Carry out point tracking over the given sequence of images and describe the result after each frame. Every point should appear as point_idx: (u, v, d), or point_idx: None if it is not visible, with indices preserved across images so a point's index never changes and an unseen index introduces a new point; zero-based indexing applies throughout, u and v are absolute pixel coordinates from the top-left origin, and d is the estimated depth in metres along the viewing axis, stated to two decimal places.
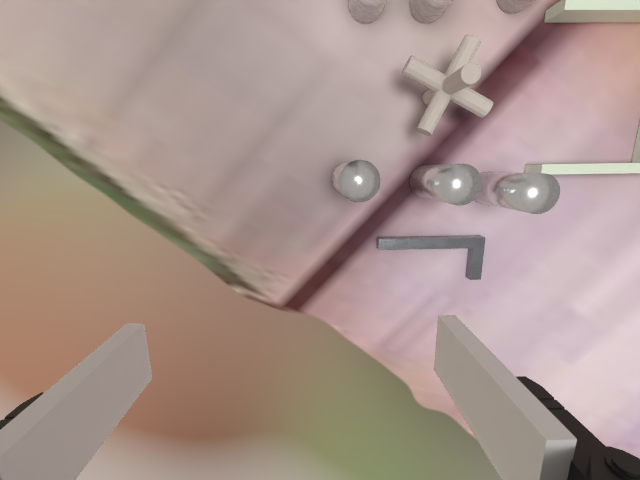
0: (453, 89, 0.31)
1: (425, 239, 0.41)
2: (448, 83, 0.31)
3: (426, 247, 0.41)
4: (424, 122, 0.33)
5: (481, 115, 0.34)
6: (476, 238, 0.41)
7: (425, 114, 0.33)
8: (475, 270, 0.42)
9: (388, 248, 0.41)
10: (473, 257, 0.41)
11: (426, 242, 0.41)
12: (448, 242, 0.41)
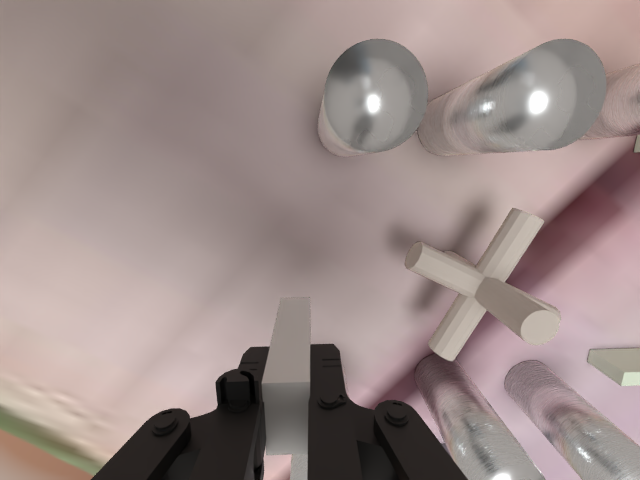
0: (497, 317, 0.17)
1: None
2: (489, 307, 0.17)
3: None
4: (441, 344, 0.20)
5: None
6: None
7: (444, 330, 0.20)
8: None
9: None
10: None
11: None
12: None
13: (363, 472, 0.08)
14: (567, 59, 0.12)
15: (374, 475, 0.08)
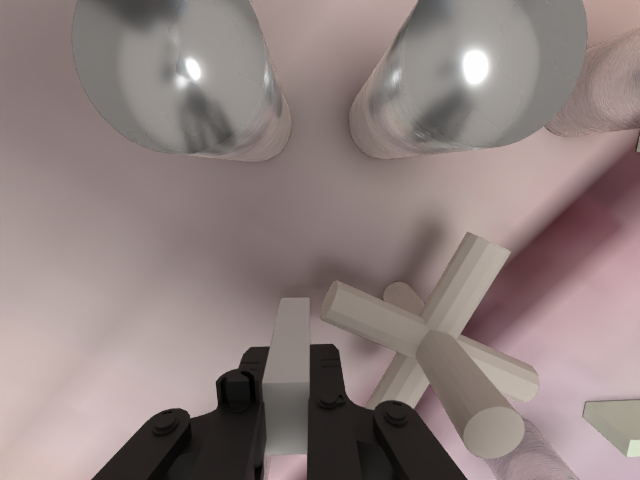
0: None
1: None
2: (430, 381, 0.12)
3: None
4: None
5: (508, 397, 0.14)
6: None
7: (378, 400, 0.14)
8: None
9: None
10: None
11: None
12: None
13: (363, 472, 0.08)
14: None
15: (373, 475, 0.08)
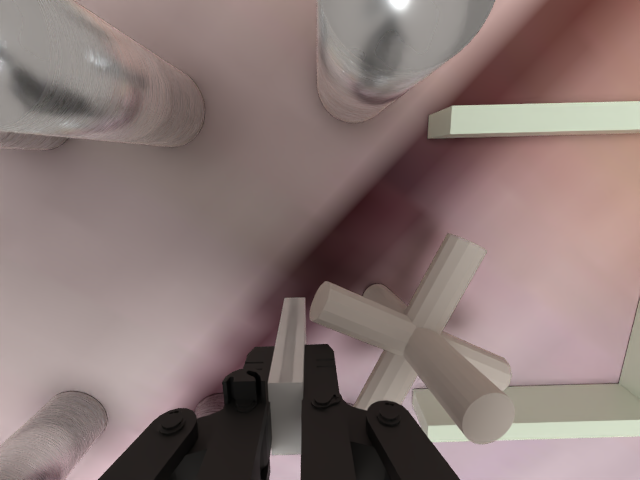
0: None
1: None
2: (421, 376, 0.12)
3: None
4: None
5: None
6: None
7: (366, 400, 0.14)
8: None
9: None
10: None
11: None
12: None
13: (355, 473, 0.08)
14: None
15: (366, 475, 0.08)
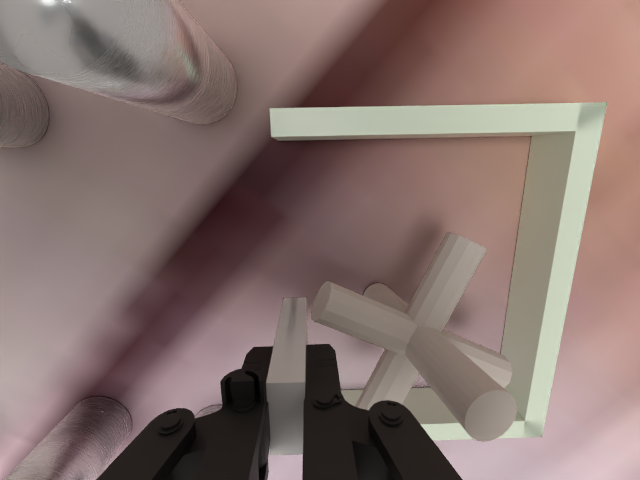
0: None
1: None
2: (423, 374, 0.12)
3: None
4: None
5: None
6: None
7: (368, 399, 0.14)
8: None
9: None
10: None
11: None
12: None
13: (358, 473, 0.08)
14: None
15: (368, 475, 0.08)
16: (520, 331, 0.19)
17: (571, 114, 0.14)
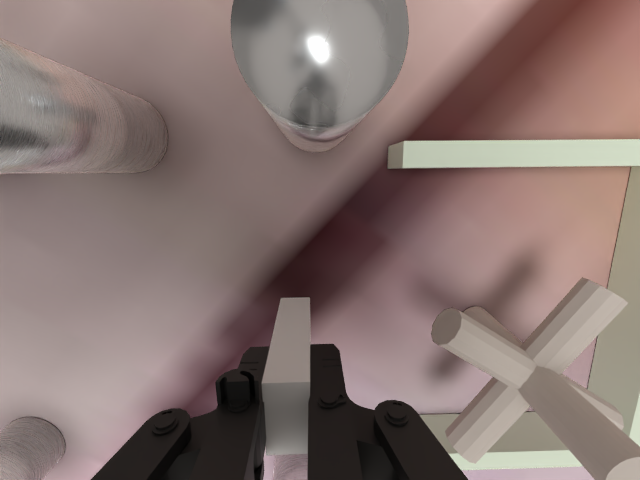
0: None
1: None
2: (545, 416, 0.12)
3: None
4: (465, 441, 0.15)
5: None
6: None
7: (470, 422, 0.15)
8: None
9: None
10: None
11: None
12: None
13: (363, 472, 0.08)
14: None
15: (374, 475, 0.08)
16: (618, 357, 0.19)
17: None
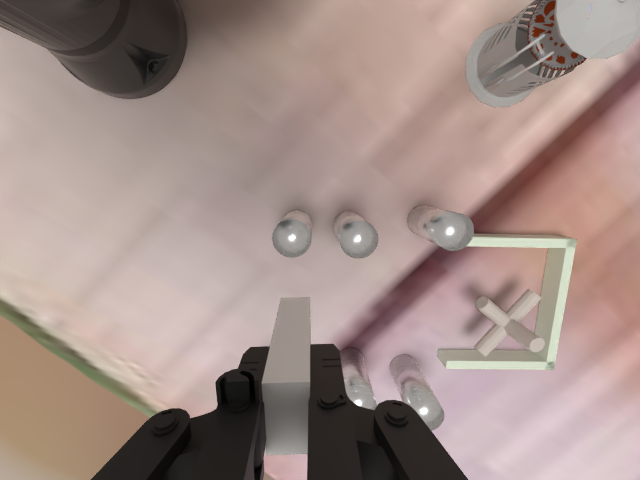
0: (515, 338, 0.38)
1: None
2: (513, 333, 0.38)
3: None
4: (483, 347, 0.40)
5: (526, 348, 0.41)
6: None
7: (485, 341, 0.40)
8: None
9: None
10: None
11: None
12: None
13: (363, 473, 0.08)
14: (361, 227, 0.32)
15: (374, 475, 0.08)
16: (544, 323, 0.44)
17: (564, 242, 0.40)
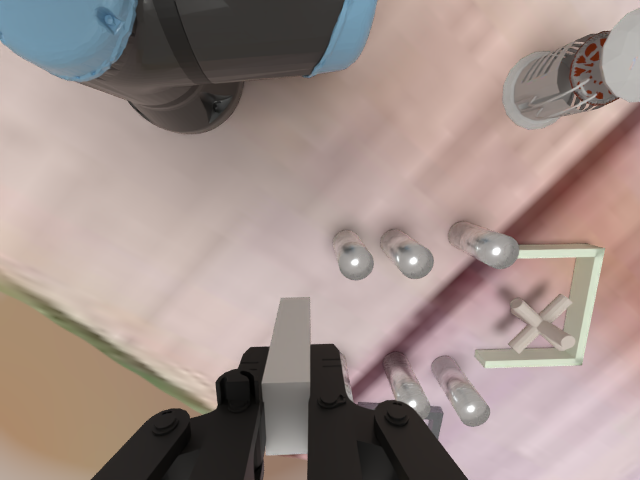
0: (547, 337, 0.42)
1: None
2: (545, 332, 0.42)
3: None
4: (516, 345, 0.44)
5: (557, 349, 0.44)
6: (436, 413, 0.51)
7: (518, 339, 0.44)
8: None
9: None
10: (432, 426, 0.52)
11: None
12: None
13: (363, 472, 0.08)
14: (419, 251, 0.36)
15: (374, 475, 0.08)
16: (572, 323, 0.48)
17: (593, 252, 0.44)
